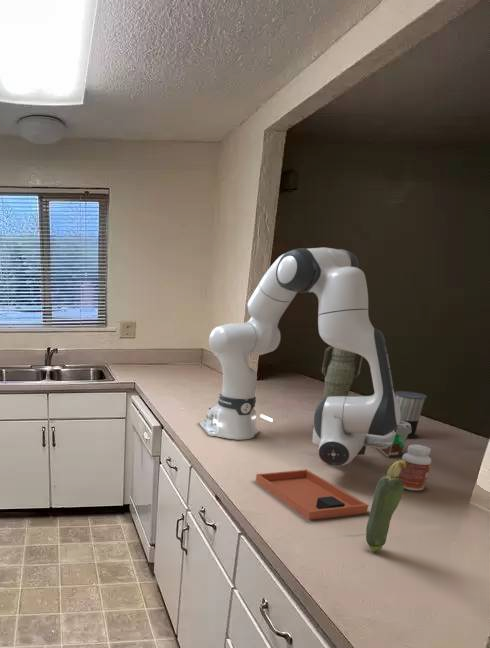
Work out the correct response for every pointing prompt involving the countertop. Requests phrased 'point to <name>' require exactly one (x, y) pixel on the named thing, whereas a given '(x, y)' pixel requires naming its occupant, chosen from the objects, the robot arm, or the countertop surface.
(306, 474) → the tray
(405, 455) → the pill bottle
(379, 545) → the vegetable
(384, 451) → the food container
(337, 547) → the countertop surface
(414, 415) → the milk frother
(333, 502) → the block
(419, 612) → the countertop surface
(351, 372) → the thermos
